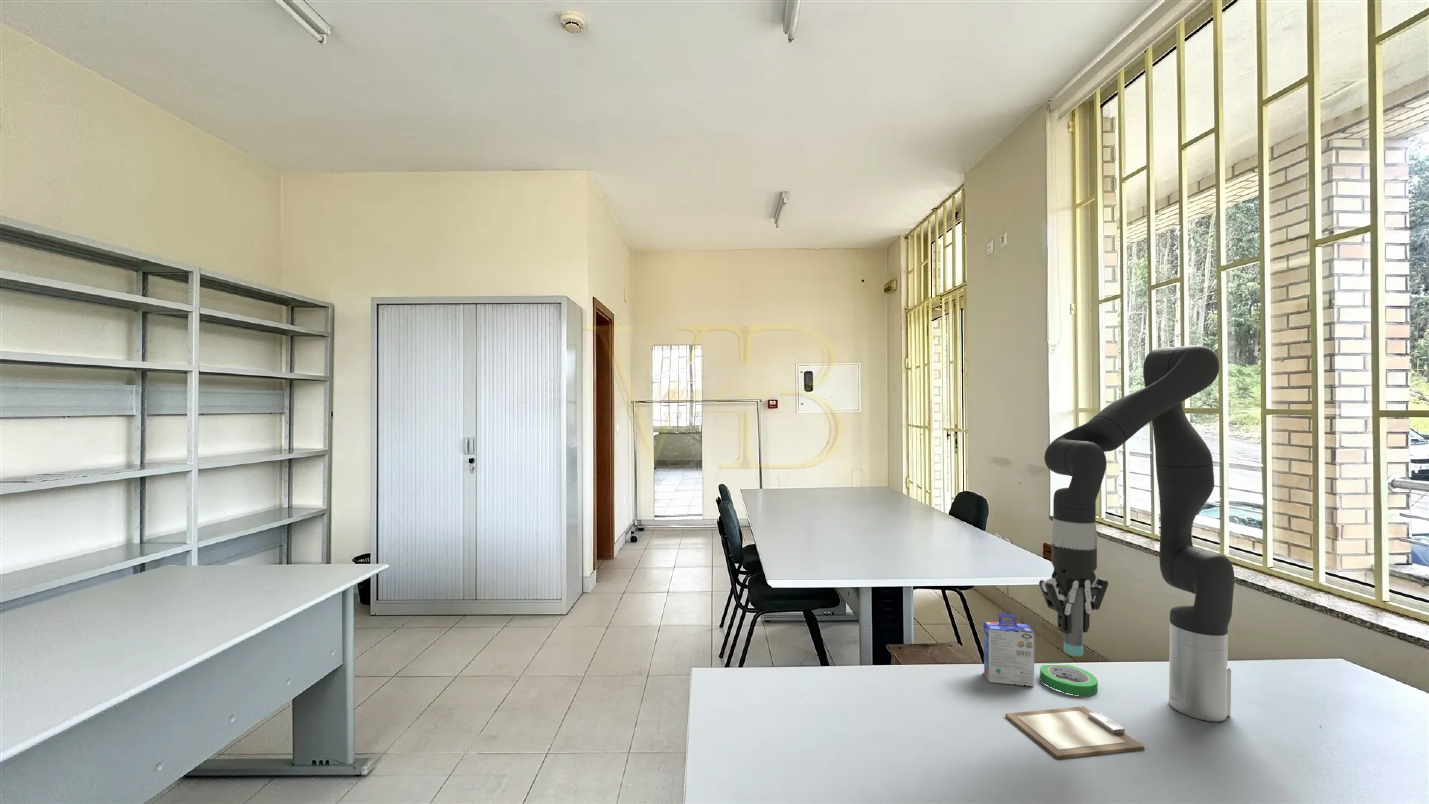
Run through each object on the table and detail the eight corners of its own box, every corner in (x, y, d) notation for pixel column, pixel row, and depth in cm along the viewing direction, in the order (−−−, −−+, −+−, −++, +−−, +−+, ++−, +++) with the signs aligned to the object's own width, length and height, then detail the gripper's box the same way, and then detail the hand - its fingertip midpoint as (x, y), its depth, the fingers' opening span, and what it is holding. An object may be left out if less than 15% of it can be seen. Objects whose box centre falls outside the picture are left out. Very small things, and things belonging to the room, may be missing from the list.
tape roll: (1093, 680, 134) (1093, 668, 134) (1101, 702, 124) (1102, 690, 124) (1038, 670, 138) (1038, 659, 138) (1042, 691, 128) (1042, 679, 128)
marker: (1074, 648, 115) (1074, 582, 115) (1087, 655, 112) (1087, 588, 111) (1059, 649, 114) (1060, 583, 114) (1072, 656, 111) (1072, 589, 111)
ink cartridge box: (1027, 676, 135) (1028, 613, 134) (1036, 687, 129) (1036, 622, 129) (982, 671, 137) (982, 610, 136) (988, 683, 131) (988, 619, 131)
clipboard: (1083, 709, 120) (1083, 701, 120) (1144, 749, 106) (1144, 740, 106) (1005, 716, 117) (1005, 708, 117) (1057, 759, 103) (1057, 750, 103)
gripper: (1090, 537, 118) (1089, 622, 118) (1027, 539, 115) (1027, 626, 115) (1122, 546, 110) (1121, 637, 110) (1056, 549, 108) (1055, 642, 108)
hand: (1073, 631), depth 113 cm, fingers closed on marker, 3 cm apart
